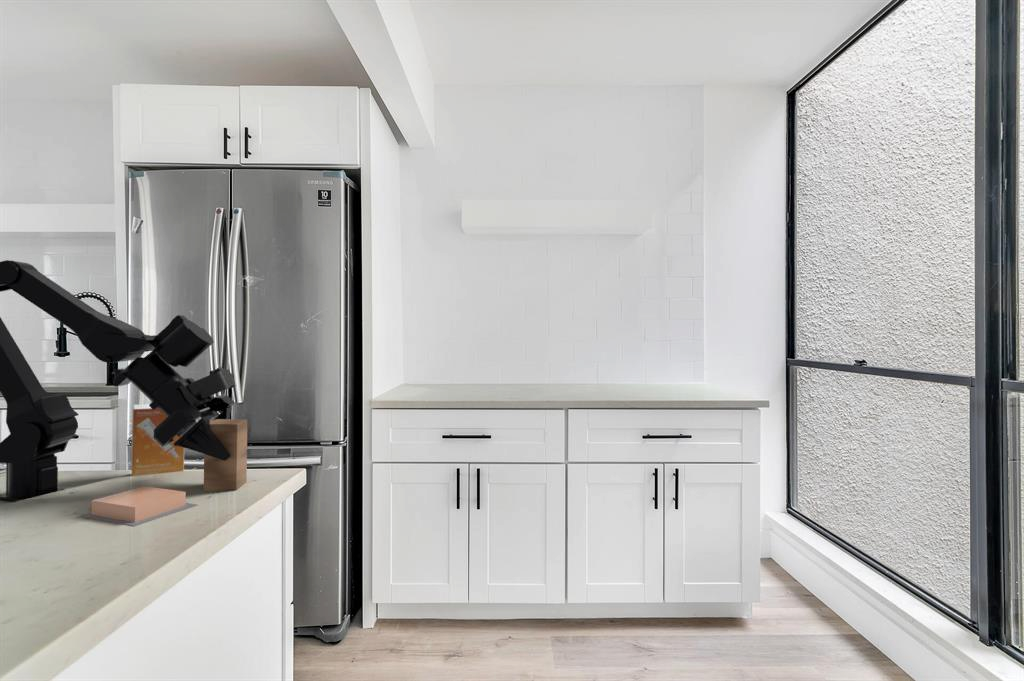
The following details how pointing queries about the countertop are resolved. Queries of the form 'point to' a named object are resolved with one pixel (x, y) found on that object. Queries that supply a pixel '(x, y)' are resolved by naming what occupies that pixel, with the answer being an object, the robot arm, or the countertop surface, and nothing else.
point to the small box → (152, 444)
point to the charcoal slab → (187, 506)
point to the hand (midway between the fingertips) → (235, 454)
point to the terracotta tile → (138, 503)
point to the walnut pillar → (235, 467)
